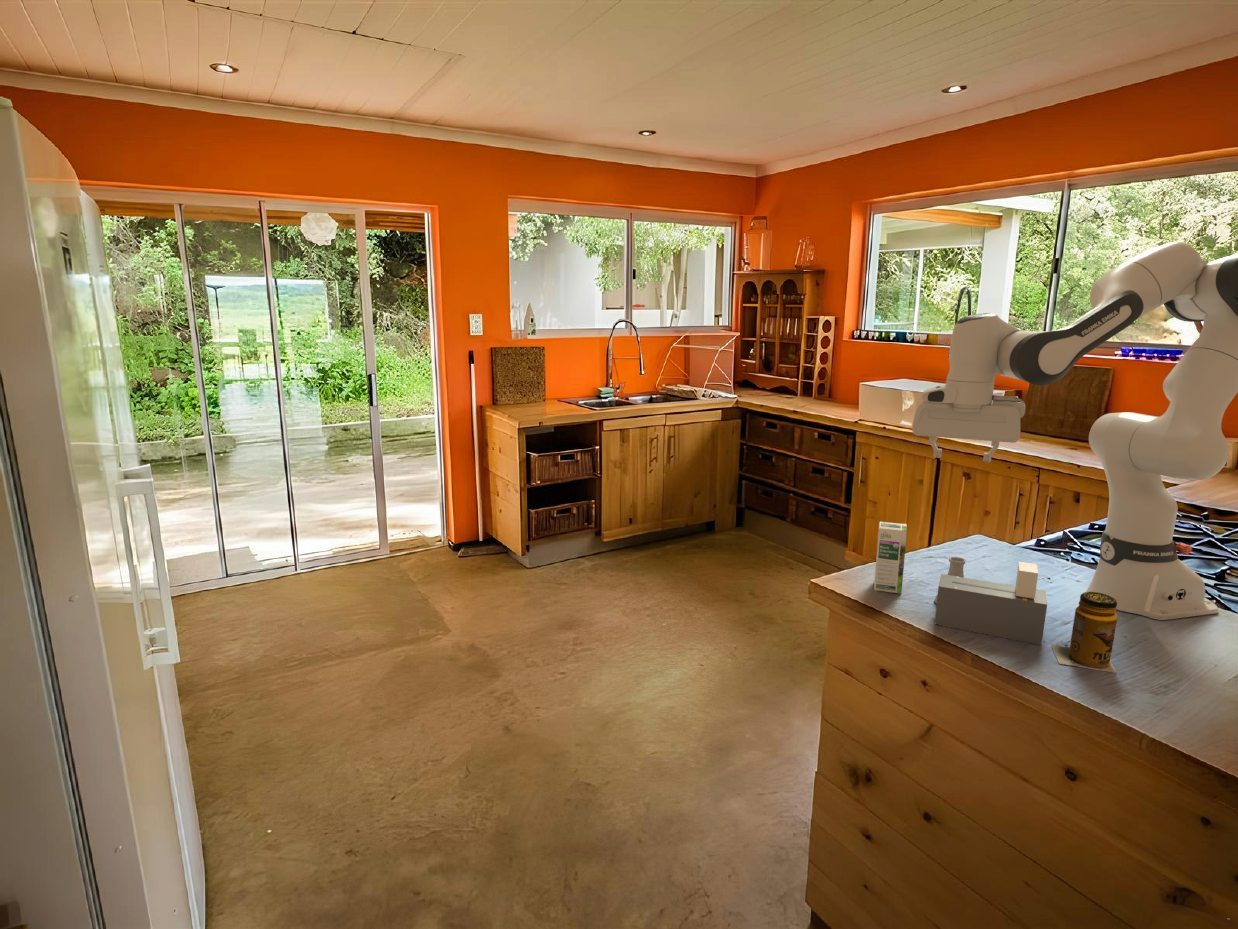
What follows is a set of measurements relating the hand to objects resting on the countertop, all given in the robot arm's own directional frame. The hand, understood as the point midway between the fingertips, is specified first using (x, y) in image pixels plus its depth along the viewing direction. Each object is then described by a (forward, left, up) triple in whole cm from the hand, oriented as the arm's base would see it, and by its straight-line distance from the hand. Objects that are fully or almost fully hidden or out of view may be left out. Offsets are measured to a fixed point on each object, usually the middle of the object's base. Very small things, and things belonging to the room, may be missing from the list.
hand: (961, 459), depth 145 cm
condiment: (-9, +31, -29) cm, 44 cm away
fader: (-3, +21, -21) cm, 30 cm away
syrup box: (+13, -1, -29) cm, 32 cm away
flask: (+3, +8, -29) cm, 31 cm away
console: (+1, +18, -29) cm, 34 cm away
